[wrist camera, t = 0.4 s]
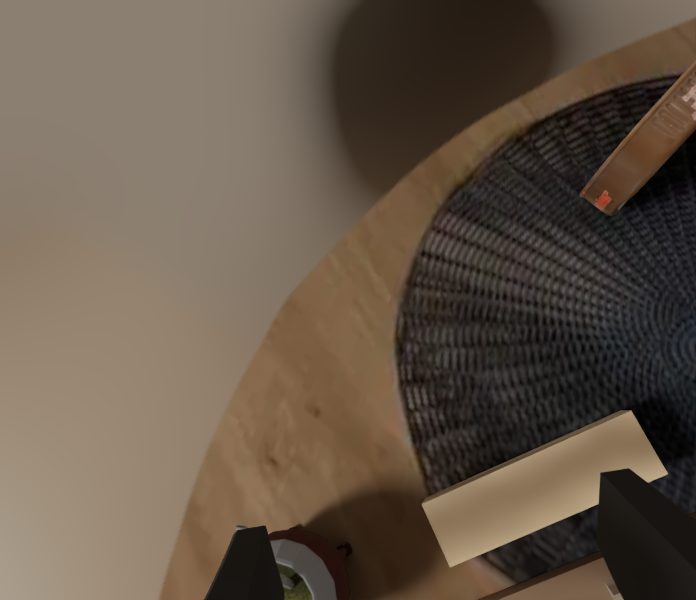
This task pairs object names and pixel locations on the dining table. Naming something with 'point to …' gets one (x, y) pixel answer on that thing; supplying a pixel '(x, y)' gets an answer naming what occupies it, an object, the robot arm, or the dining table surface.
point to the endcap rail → (568, 582)
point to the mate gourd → (310, 565)
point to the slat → (538, 487)
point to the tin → (646, 147)
